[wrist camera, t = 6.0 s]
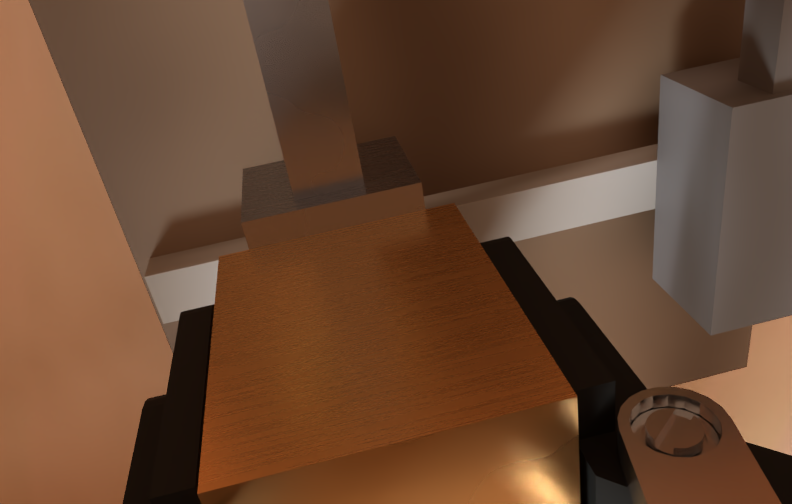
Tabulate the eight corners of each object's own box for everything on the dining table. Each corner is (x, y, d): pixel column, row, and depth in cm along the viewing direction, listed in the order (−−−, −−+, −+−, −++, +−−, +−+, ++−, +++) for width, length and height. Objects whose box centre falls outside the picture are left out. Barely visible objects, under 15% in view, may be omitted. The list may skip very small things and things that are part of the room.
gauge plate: (793, -624, 11) (1149, -960, 7) (706, 327, 21) (828, 446, 17) (-133, -507, 10) (-445, -827, 6) (234, 446, 20) (229, 609, 15)
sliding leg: (355, -279, 10) (550, -588, 4) (444, 323, 16) (584, 641, 9) (92, -236, 10) (-239, -489, 3) (279, 364, 16) (298, 723, 9)
